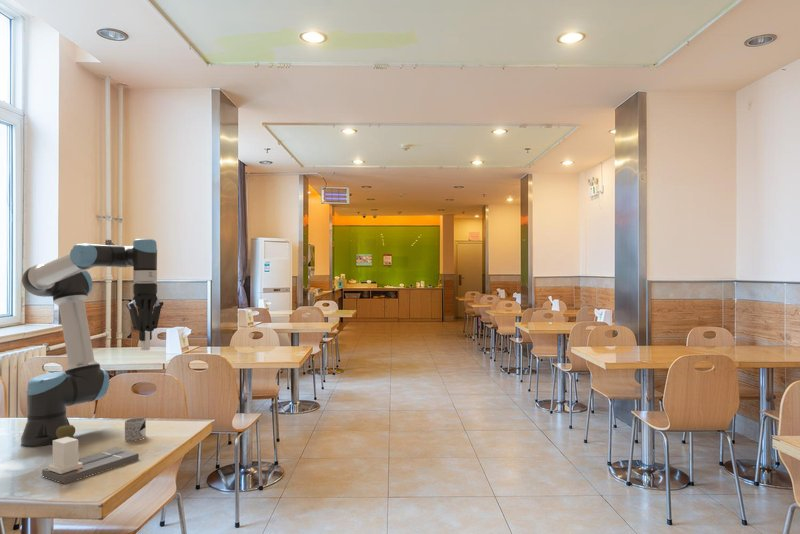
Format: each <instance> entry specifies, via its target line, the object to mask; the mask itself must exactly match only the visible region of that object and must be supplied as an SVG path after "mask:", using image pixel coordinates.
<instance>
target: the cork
mask: <svg viewBox="0 0 800 534" xmlns="http://www.w3.org/2000/svg"><path fill="white" fill-rule="evenodd" d="M75 433H76V427H75V426H74V425H71V424H70V425H65V426H61V427H59V428H58V429H57V430H56V436H57V437H58V439H60V438H64V437H70V438H74V439H75V437H74V435H75Z"/></svg>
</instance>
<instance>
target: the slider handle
mask: <svg viewBox="0 0 800 534" xmlns="http://www.w3.org/2000/svg"><path fill="white" fill-rule="evenodd" d="M78 459H79V438H78V439H77V438H75V437H74V438H70V437H64V438H60V439H57V440H53V444H52V464H49V465H47V468H48V470H50V471H53V472H56V473H59V474H63V473H66V472H69V471H72V470H75V469H79V468H82V467H83V463H81V462H78Z"/></svg>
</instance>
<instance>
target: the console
mask: <svg viewBox="0 0 800 534" xmlns="http://www.w3.org/2000/svg"><path fill="white" fill-rule="evenodd" d="M139 454H140V453H139V452H134V451H130V450H127V449H122V448H118V447H114V448H110V449H107V450H105V451H102V452H97V453H94V454H90V455H86V456H84V457H80V458H78V462H81V463H83V467H82V468H79V469H75V470H72V471H69V472H66V473H63V474H59V473H56V472H53V471H50V470H48V467H47V468H44V469H42V470H41V472H42V473H41V474H42V475H41V477H42V476H44V477H43V478H45V477H47V478H46V479H48V478H50V479H49V480H51V479H53V480H56V481H59V482H61V483H60V484H62V483H64V484H63V485H66V484H65V483H67V484H69V482H70V483H73V482H75V481H74V480H76V481H78V480H77V479H79V480H81V479H80V478H82V479H85V478H87V477H86V476H88V477H90V476H89V475H91V476H93V475H92V474H94V475H96V474H95V473H97V474H99V473H98V472H100V473H103V472H105V470H106V471H109V470H111V468H112V469H115V468H118V467H121V466H124V465H127V464H130V463H133V462H137V461H139V459H140V458H139ZM114 467H115V468H114ZM108 469H109V470H108ZM102 471H103V472H102ZM84 477H85V478H84ZM53 480H52V481H53ZM56 481H55V482H56ZM72 481H73V482H72ZM59 482H58V483H59Z"/></svg>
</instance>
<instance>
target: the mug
mask: <svg viewBox="0 0 800 534" xmlns="http://www.w3.org/2000/svg"><path fill="white" fill-rule="evenodd" d="M146 425H147V421H146V418H145V417H134V418H133V417H132V418H128V419H126V420H125V421H124V441H125V440H127V441H126V442H136V441H135V440H138V441H141V440H140V439H142V440H144V439H145V437H146V435H147V434H146V431H147V429H146V428H147V427H146ZM143 438H144V439H143ZM146 438H147V437H146Z"/></svg>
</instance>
